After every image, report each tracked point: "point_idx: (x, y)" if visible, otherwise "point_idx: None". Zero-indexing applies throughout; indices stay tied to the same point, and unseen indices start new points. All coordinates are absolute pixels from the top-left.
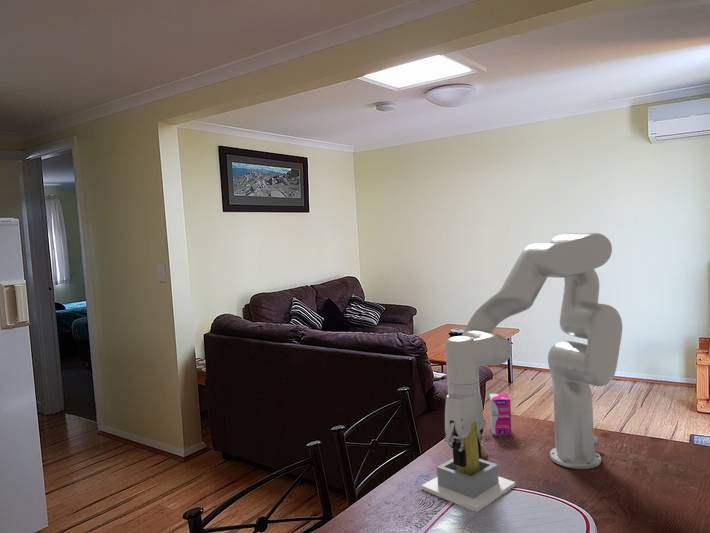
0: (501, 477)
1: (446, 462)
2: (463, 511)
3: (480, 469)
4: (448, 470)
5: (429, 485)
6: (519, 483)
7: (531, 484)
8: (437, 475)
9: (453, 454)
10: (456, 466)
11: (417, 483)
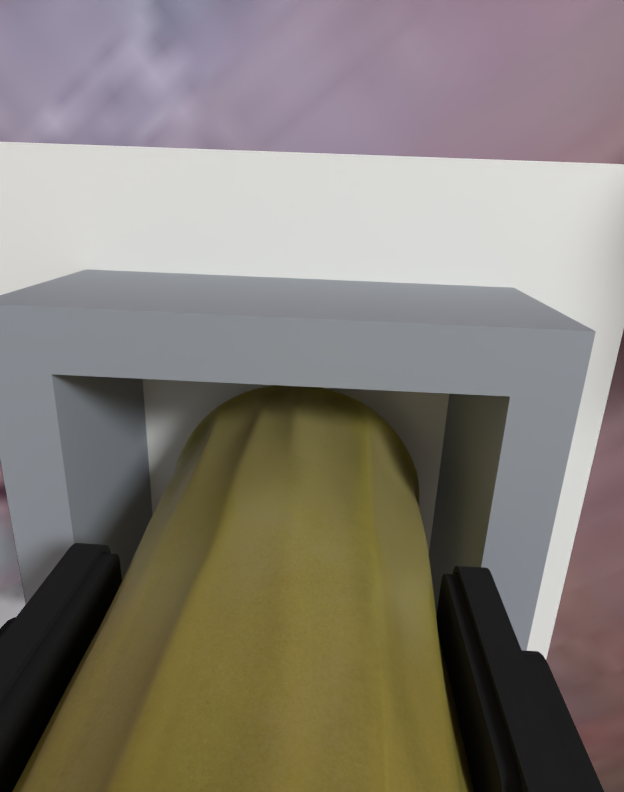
0: (555, 610)
1: (173, 328)
2: (4, 588)
3: (452, 561)
4: (16, 480)
5: (14, 210)
6: (580, 681)
7: (607, 736)
8: (37, 286)
9: (1, 644)
10: (159, 504)
11: (31, 8)
